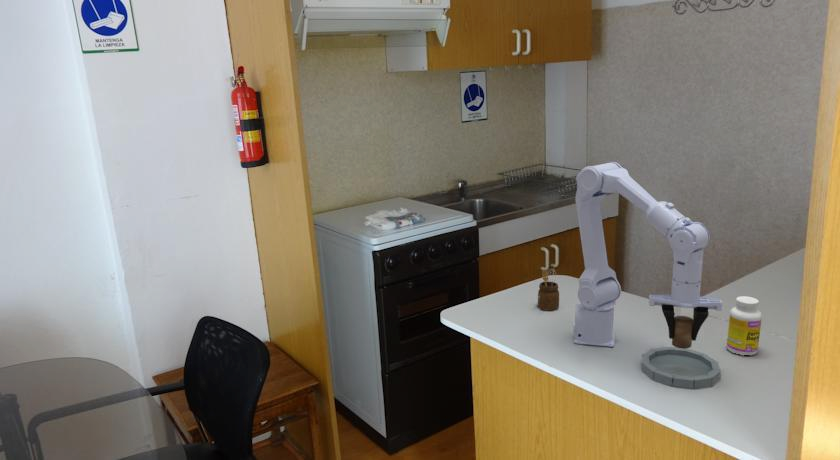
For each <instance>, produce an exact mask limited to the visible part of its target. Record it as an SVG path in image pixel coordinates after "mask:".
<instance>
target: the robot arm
mask: <svg viewBox="0 0 840 460" xmlns="http://www.w3.org/2000/svg"><path fill="white" fill-rule="evenodd" d="M575 179H576V185H577V187H576V188H577V189H576V192H575V199H574V201H575V205H576V213H577V221H578V227H579V235H580V241H581V242H580V243H581V249H582V255H583V261H584V262H583V263H584V271H582V273H581V275H580V277H579V278H578V283H579V284H578V291H577V297H578V300H579V303H580V304H576V305H575V314H574V325H573V333H574V336H573V337H574V339H573V343H574V344H577V345H578V344H579V345H586V346H587V345H588V346H589V345H590V346H597V347H598V346H600V347H612V348H613V347H615V333H614V321H615V320H614V317H615V313H614V312H615V305H616V302H617V300H619V298H620V297H621V294H622V286H621V284H620V283H619V282H620V281H618V279H617V274H616V271H615V270H614V269H612V268H611V267H610V266H609V261H608V255H607V254H608V253H607V246H606V241H605V233H604V227H603V220H602V213H601V212H602V211H601V205H600V204H601V202H602V201H603V199H605V197H606V196H607V195H608V194H620V195H621V196H622V197H623V198H625V199H626V200H627V201H629V202H630V203H631V204H633V205H634V206H636V207H637V208H639V209H640V210H641V211H643V212H644V213H645V214H646V221H647V222H648V223H650V224H651V226H653V228H655V229H656V230H657V231H658V232H660V233H661V234H662V235H663V236H664V237H665V238H667V239H668V242H669V243H668V244H669V246H670V248H671V249H672V251H673V254H672V255H673V265H672V266H673V267H672V279H671V290H670V291H671V294H670V293H669V294H668V293H667V294H649V296H648V297H649V298H648V300H649V301H648V304H649V305H648V306H649V307H655V306H660V307H661V310H662V314H663V316H664V318H665V321H666V323H667V324H666V325H667V327H668V337H669V339H670V340H672V339H673V323H674V317H675V308H676V307H682V308H694V313H693V332H692V342H693V341H695V342H696V341H697V337H698V334H699V331H700V329H701V327H702V326H703V324H704V323H705V321H706V319H707V318H708V317H709V310H715V311H716V312H717V311H718V312H722V310H723V301H722V299H719V298H711V297H706V296H700V295H701V284H702V276H703V273H702V272H703V263H704V251H705V249H704V248H706V247H707V246H708V245H709V242H710V240H711V235H710V232H709V229H708V228H707V227H706V226H705V225H704V223H702V222H699V221H692V219H691V218H689V217H686V216H685V215H683V214H682V213H681V212H679V211H678V210H677V209H676V208H675V204H673V203H672V202H667V201H665V200H664V201H663V200H662V201H658V200H656V199H655V198H654V197H653V196H652V195H651V194H650V193H648V191H646V189H645V188H643V186H641V185H640V184H639V183H638V182H637V181H635V179H634V178H632V177H631V176H630V174H629V172H628V169H626V168H624V167H622V166H621V164H619V163H618V162H616V161H609V162H606V163H603V164H602V163H601V164H596V165H588V166H585V167H583V168H582V169H581V170H580V171H579V173H578V174H577V175H576V176H575Z"/></svg>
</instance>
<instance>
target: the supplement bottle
mask: <svg viewBox="0 0 840 460" xmlns="http://www.w3.org/2000/svg"><path fill="white" fill-rule="evenodd" d="M759 302H760V301H759V300H758V299H757V298H755V297H752V296H745V295H743V296H742V295H741V296H737V297H736V299H735V305H736V306H734V307H731V309H730V311H729V318H728V319H729V320H728V329H727V337H726V338H727V340H726V348H727V350H728V351H729V352H731V353H733V354H735V353H736V355H738V354H740V355H739V356H744V355H750V356H754V355H756V354H757V353H758V351H759V343H760V335H761V327H762V319H763V316H762V313H761V311H760V310H758V307H759V304H760V303H759Z"/></svg>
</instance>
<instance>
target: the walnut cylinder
mask: <svg viewBox="0 0 840 460" xmlns="http://www.w3.org/2000/svg"><path fill="white" fill-rule="evenodd" d="M692 332H693V319H692V318H690V317H687V316H676V317H675V316H674V323H673V339H671V345H672V347H677V348H683V349H687V348H688V349H690V348H692V342H693V341H692Z"/></svg>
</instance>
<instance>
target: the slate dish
mask: <svg viewBox="0 0 840 460" xmlns="http://www.w3.org/2000/svg"><path fill="white" fill-rule="evenodd" d="M640 361H641V362H640V365H641V372H642V373H644V374H645V375H646V376H647V377H648V378H650V380H652V381H654V382H658V383H660V384H663V385H665V386H669V387H672V388H679V389H687V390H688V389H690V390H696V389H701V388H708V387H709V388H710V387H713V386H714V385H715V384H716V383H717V382H719V381H720V380H721V373H722V371H721V367H720V365H719V364H720V363H719V362H718V361H717V360H715V359H714V358H713V357H711V356H710V355H708V354H706V353H704V352H702V351H701V352H700V351H697V350H693V349H690V348H686V349H683V348H677V347H675V346H661V347H654V348H651V349H650V348H649V350H647V351H645V352H644V353H642V354H641V360H640ZM719 379H720V380H719ZM713 384H714V385H713Z"/></svg>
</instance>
